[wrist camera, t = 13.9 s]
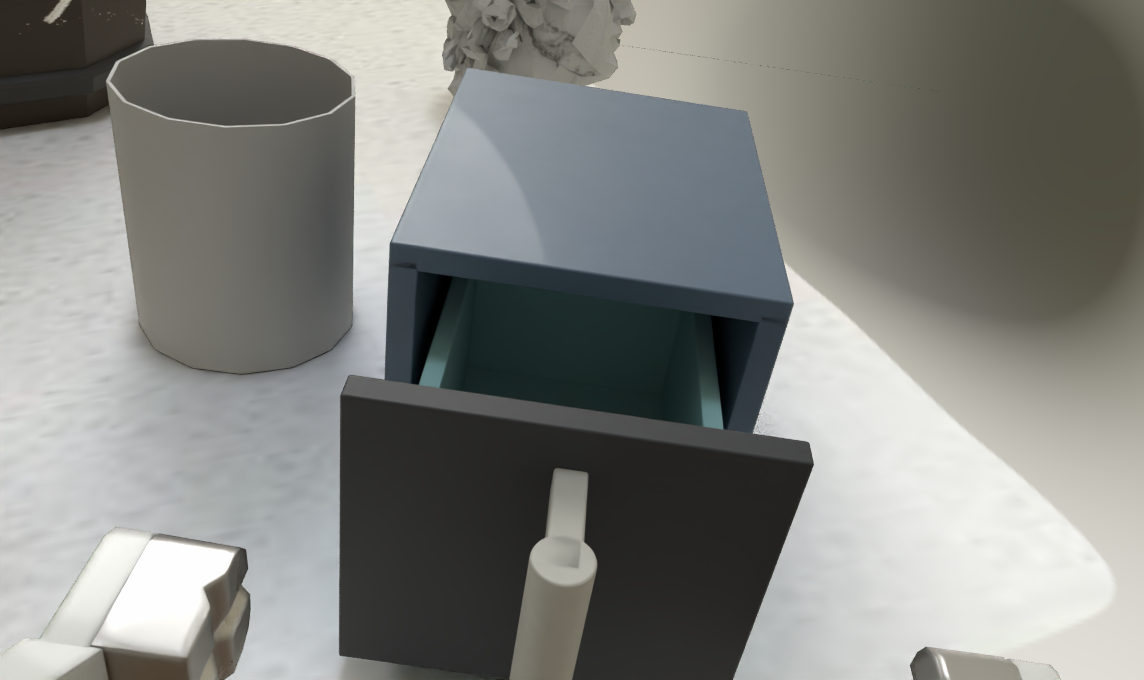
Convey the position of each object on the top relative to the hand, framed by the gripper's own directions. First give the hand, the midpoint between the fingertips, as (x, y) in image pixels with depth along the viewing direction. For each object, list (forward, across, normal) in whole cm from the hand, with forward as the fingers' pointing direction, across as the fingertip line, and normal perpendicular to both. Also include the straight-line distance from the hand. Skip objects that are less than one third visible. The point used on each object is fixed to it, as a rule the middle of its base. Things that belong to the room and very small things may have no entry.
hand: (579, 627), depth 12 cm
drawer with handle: (+14, 0, +13) cm, 19 cm away
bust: (+48, -5, +15) cm, 50 cm away
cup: (+25, +13, +15) cm, 32 cm away
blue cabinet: (+22, 0, +14) cm, 26 cm away
